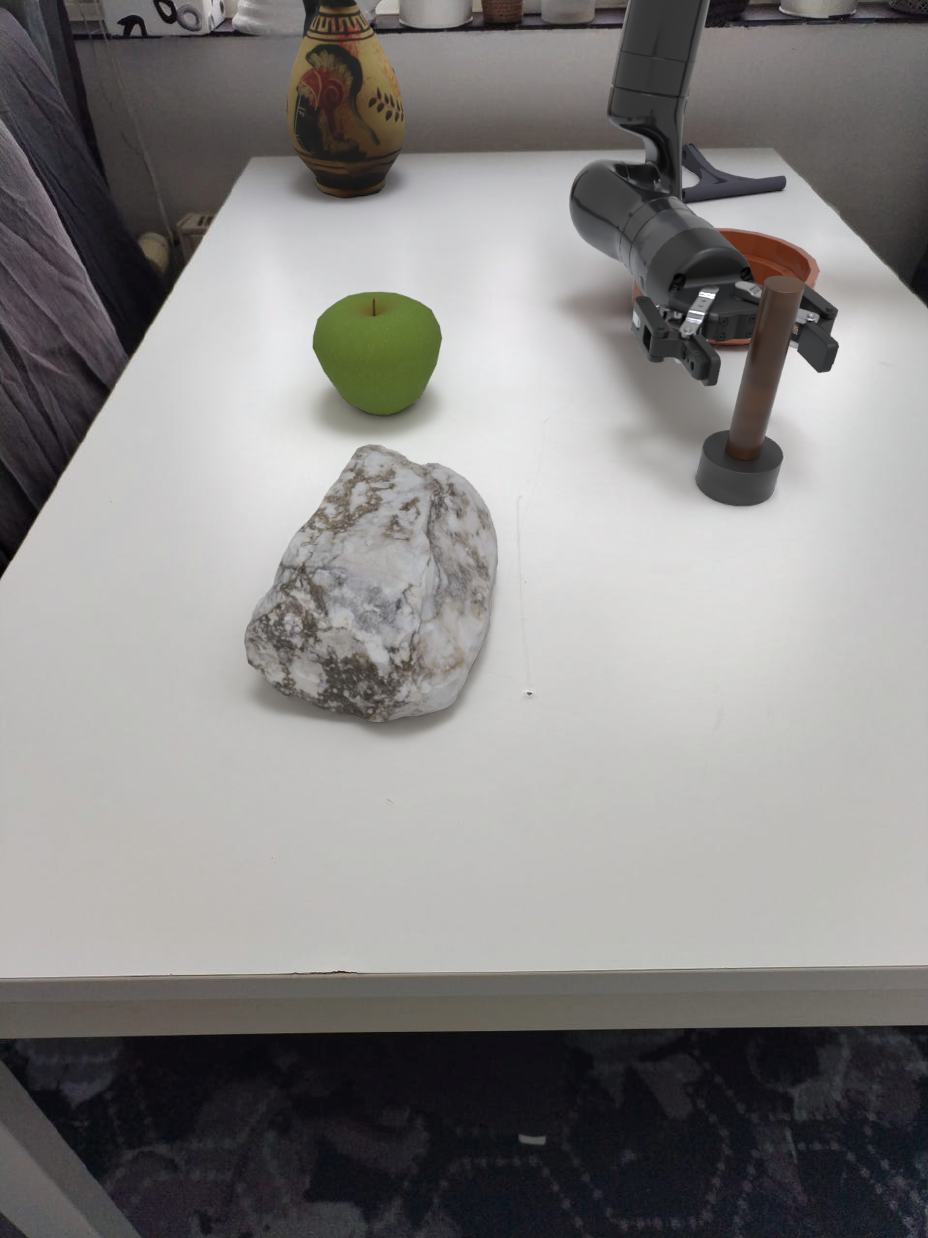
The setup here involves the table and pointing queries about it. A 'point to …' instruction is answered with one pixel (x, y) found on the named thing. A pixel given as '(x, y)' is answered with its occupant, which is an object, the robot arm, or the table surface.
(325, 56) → the ceramic jug
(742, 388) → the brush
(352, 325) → the apple
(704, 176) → the bracket
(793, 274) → the bowl
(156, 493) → the table surface
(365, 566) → the decorative stone
